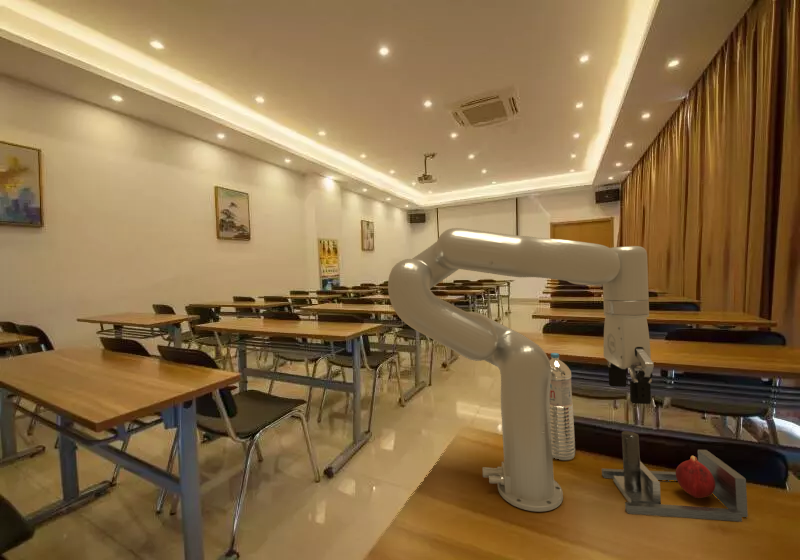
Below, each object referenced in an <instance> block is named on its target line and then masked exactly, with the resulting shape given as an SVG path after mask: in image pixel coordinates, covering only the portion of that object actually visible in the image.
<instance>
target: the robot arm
mask: <svg viewBox="0 0 800 560" xmlns="http://www.w3.org/2000/svg"><path fill="white" fill-rule="evenodd" d="M648 267H649V266H648V252H647V250H646V248H644V247H642V246H640V245H639V246H638V245H628V246H627V245H626V246H615V247H610V246H606V245H604V244H599V243H593V242H585V241H579V240H570V239H561V238H548V237H547V238H546V237H536V236H530V235H529V236H527V235H516V234H515V235H514V234H508V233H498V232H491V231H484V230H483V231H482V230H477V229H469V228H461V227H459V228H458V227H455V228H454V227H452V228H449V229H446V230H445V231H443V232H442V233H441V234H440V235H439V236H438V238H437V240H436V241H435V242H434V243H433V244H431V245H430V246H428V247H427V248H426V249H424V250H423V251H422V252H420V253H418V254H417V255H415V256H414V257H412V258H406V259H403V260H400V261H398V262H397V263H396V264H395V265H394V266H393V267H392V269H391V270H390V272H389V276H388V281H387V290H388V297H389V298H388V299H389V301H390V304H391V306H392V308H393V310H394V312H395V313H396V315H397V316H398V317H399V319H401V321H402V322H404V323H405V324H406V325H408V326H409V327H410V328H411V329H413V330H415V331H417V332H418V333H420V334H422V335H424V336H426V337H428V338H429V339H431V340H433V341H435V343H436V342H437V343H438V344H440V345H441V346H444V347H445V348H447V349H449V350H452V352H453V351H454V352H455V353H456V354H459V355H460V356H462V357H464V358H466V359H468V360H470V361H475V362H476V361H478V362H479V361H485V362H487V363H489V364H491V365H492V366H495V367H496V368H498V369H499V373H500V411H501V412H500V414H501V415H500V416H501V425H502V427H501V428H502V445H503V448H502V449H503V461H501V466H497V467H486V466H484V467H482V478H486V479H487V478H488V482H489V484H493V485H494V484H497V491H498V492H499V495H500V496H501V497H502V499H503V500H505V501H506V502H508V503H509V504H510V505H512V506H513V507H515V508H516V507H517V508H518V509H521V510H524V511H529V512H535V513H536V512H538V513H542V512H549V511H552V510H555V509H556V508H558V507H559V506H560V505H561V504H562V502H563V500H564V492H563V489H562V487H561V485H560V484H559V483H558V482H557V481H556V480H555V479H554V478H555V477H554V460H553V459H554V458H553V457H552V437H551V419H550V385H551V365H550V362H549V360H550V358H549V357H548V355H547V353H546V352H545V351H544V349H543V348H542V347H541V346H540V345H538V343H536V342H534V341H533V340H532V339H530V338H529V337H527V336H525V335H524V334H522V333H520V332H518V331H516V330H514V329H512V328H510V327H508V326H505V325H504V324H502V323H500V322H497V321H496V320H493V319H492V318H490V317H488V316H486V315H484V314H481V313H479V312H476V311H466V310H463V309H462V308H459V307H458V306H455V305H454V304H453V303H450V302H448V301H446V300H445V299H442V298H440V297H438V296H437V295H436V294H434V293H433V291H431V289H432V288H433V287H434V286H436V285H438V284H440V283H441V282H442V281H443V280H445V279H447V278H448V277H450V276H451V275H453V274H455V273H456V272H457V271H459V270H464V271H470V272H479V273H484V274H492V275H497V276H503V277H504V276H505V277H506V276H507V277H512V278H538V279H539V278H541V279H551V280H557V281H566V282H568V283H570V284H574V285H582V286H583V285H585V286H602V290H603V291H602V292H603V293H602V294H603V296H602V297H603V316H604V317H605V318H604V327H603V357H604V358H605V360H606V361H607V367H608V386H610V387H613V388H614V387H615V388H616V387H619V388H620V387H621V388H625V387H627V369H628V373H629V374H630V375H629V376H630V378H631V381H630V380H629V394H630V395H629V396H630V398H629V400H630V403H632V404H635V405H637V404H638V405H650V404H651V403H652V397H651V396H652V395H651V394H652V393H651V389H652V388H651V383H652V382H653V381H652V378H653V371H654V368H655V367H654V366H655V365H654V362H653V361H652V359H651V357H652V356H651V355H652V354H651V352H652V351H651V342H650V341H651V340H650V332H649V326H648V319H647V318H649V317H650V303H649V302H650V300H649V298H650V297H649V295H650V294H649V272H648V271H649V268H648ZM637 371H638V372H637ZM636 372H637V373H636Z"/></svg>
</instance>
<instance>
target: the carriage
mask: <svg viewBox="0 0 800 560" xmlns="http://www.w3.org/2000/svg"><path fill="white" fill-rule="evenodd" d="M639 437H640V436H639V434H638V433H636V432H634V431H629V430H623V431H622V432H621V445H622V460H623V461H622V462H623V463H622V465H623V470H624V476H613V478H612V481H613V483H614V484H615V486H616V487H617V489H618V490H619V492H621V494H622V495H623V496H624V498H625V500H626V502H633V503H649V504H662V498H661V481H658V479H657V478H656V477H655V476H654V475H653V474H652V473H651V472H650V471H651V470H649V469H648V468H647V466H645V464H644V463H643V462H642V461H641V458H640V454H641V453H640V438H639Z"/></svg>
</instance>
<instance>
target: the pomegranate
mask: <svg viewBox="0 0 800 560" xmlns="http://www.w3.org/2000/svg"><path fill="white" fill-rule="evenodd" d="M675 472H676V478H677V481H678V482H677V483H678V484H679V487H681V489H682V490H683V491H685V492H686V493H687V494H688V495H690V497H692V498H694V499H702V498H707V497H709V496H711V495H712V493H713V492H714V489H715V480H714V477H713V475H712V474H711V472H710V471H709V470H708V469H707V468H706V467H705V466H704V465H703V464H701V463H700V462H698V457H696V456H694V455H691V456H690V459H688V460H685V461H682V462H680V464H678V465H677V467H676V469H675Z"/></svg>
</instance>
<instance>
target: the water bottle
mask: <svg viewBox="0 0 800 560" xmlns="http://www.w3.org/2000/svg"><path fill="white" fill-rule="evenodd" d="M550 358H551V359H549V362H550V365H551V385H550V419H551V437H552V457H553V459H554V458H555V459H554V460H557V459H559V461H571V460H572V459H574V457H576V441H575V439H576V437H575V425H574V424H575V419H574V403H573V395H572V394H573V392H572V390H573V389H572V371H571V369H570V368H569V366H568V365H567V364H566V363H565V362H563V361H562V360H560V353H559V352H551V353H550Z"/></svg>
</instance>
